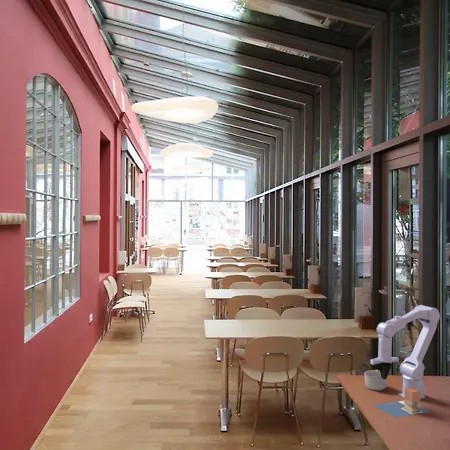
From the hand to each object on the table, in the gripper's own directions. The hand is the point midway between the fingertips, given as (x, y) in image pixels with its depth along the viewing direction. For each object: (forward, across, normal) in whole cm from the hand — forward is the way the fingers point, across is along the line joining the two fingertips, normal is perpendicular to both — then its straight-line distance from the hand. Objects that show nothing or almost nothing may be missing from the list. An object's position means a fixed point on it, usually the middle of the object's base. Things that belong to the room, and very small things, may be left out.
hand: (383, 378), depth 223 cm
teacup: (+11, +8, +15) cm, 20 cm away
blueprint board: (+10, +1, -11) cm, 15 cm away
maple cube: (+10, +4, -14) cm, 18 cm away
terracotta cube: (+5, +4, -14) cm, 15 cm away
